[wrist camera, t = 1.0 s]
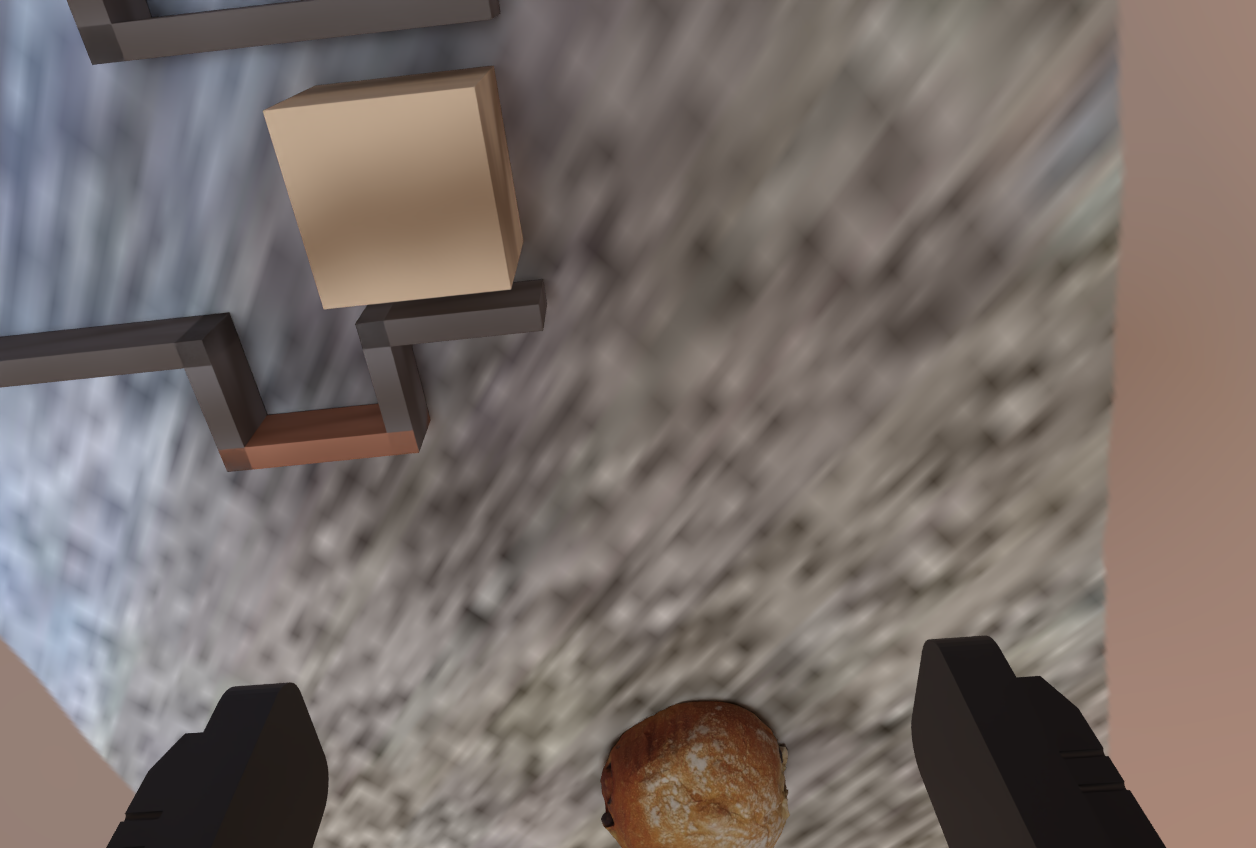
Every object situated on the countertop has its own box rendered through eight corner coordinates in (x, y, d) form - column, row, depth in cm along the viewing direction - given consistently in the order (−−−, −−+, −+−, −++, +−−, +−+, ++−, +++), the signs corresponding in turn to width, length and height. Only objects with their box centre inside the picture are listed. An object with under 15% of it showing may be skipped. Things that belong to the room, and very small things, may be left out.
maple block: (315, 85, 27) (263, 110, 23) (494, 64, 27) (474, 87, 23) (362, 257, 30) (323, 309, 26) (523, 240, 30) (511, 289, 26)
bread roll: (764, 744, 50) (849, 841, 43) (626, 851, 48) (694, 972, 41) (709, 636, 45) (796, 725, 39) (554, 750, 43) (616, 866, 36)
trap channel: (-376, -99, 24) (-589, -109, 20) (466, -200, 23) (436, -233, 19) (-33, 467, 34) (-124, 542, 30) (563, 406, 34) (558, 474, 29)
